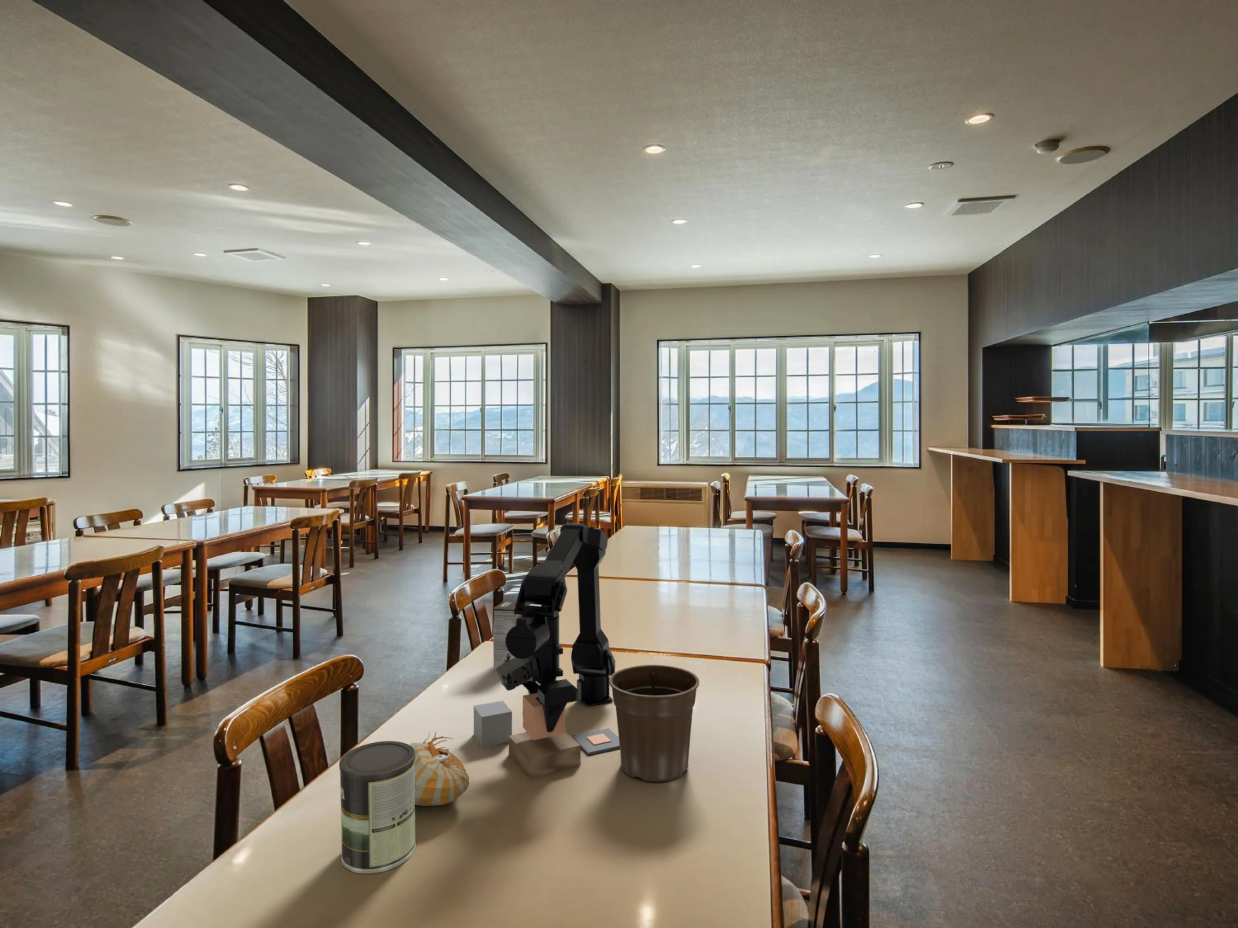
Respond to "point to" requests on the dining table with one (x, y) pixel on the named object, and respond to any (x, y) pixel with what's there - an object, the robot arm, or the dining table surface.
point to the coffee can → (377, 806)
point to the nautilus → (437, 774)
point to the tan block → (544, 753)
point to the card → (597, 741)
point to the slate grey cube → (492, 723)
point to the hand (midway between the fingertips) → (543, 724)
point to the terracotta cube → (539, 719)
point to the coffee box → (503, 630)
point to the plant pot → (654, 719)
